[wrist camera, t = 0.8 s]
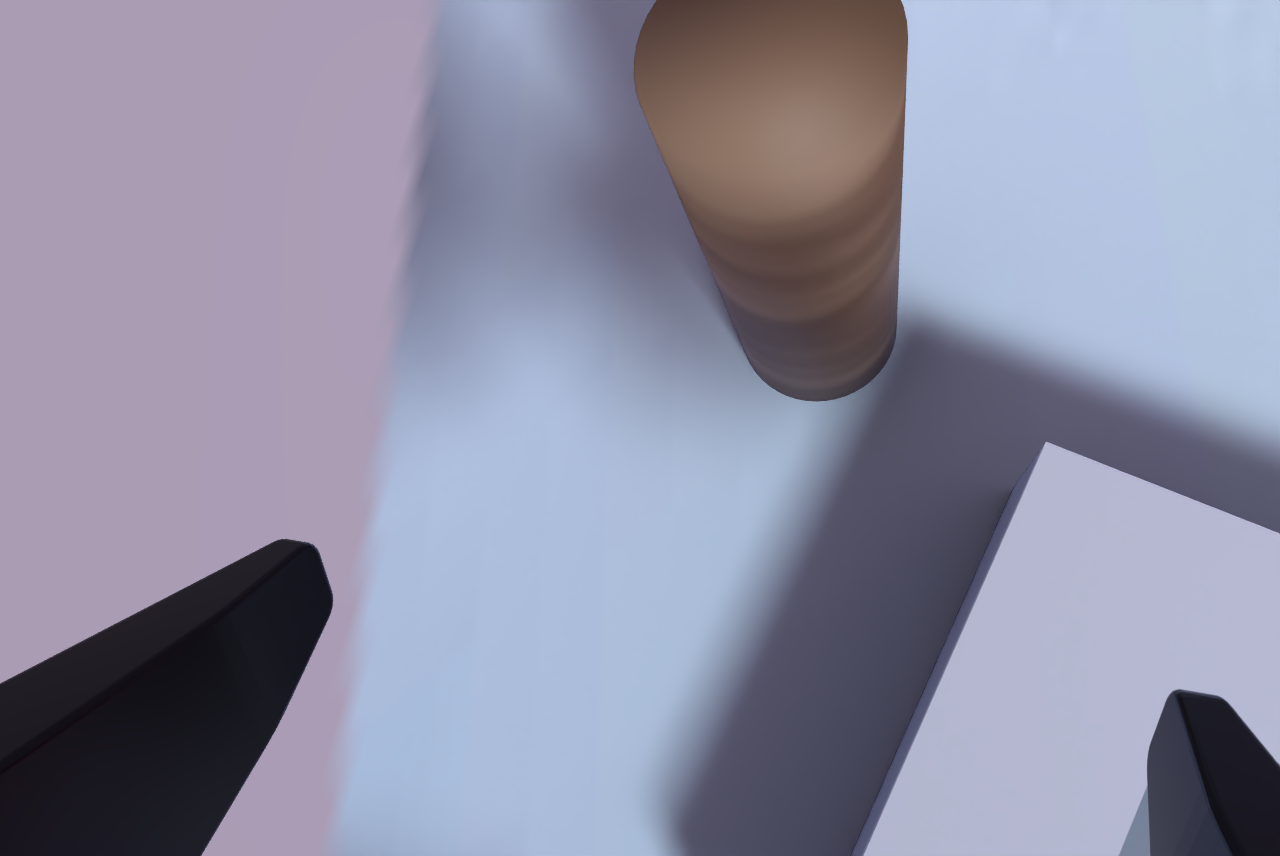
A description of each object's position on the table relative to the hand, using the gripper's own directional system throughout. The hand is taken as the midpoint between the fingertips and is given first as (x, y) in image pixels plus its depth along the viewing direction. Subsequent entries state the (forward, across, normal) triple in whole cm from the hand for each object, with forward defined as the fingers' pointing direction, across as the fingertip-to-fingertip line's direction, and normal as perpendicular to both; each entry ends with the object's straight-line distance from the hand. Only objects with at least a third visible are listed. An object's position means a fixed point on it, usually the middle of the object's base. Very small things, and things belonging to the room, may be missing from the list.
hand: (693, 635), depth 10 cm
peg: (+16, +1, +5) cm, 17 cm away
